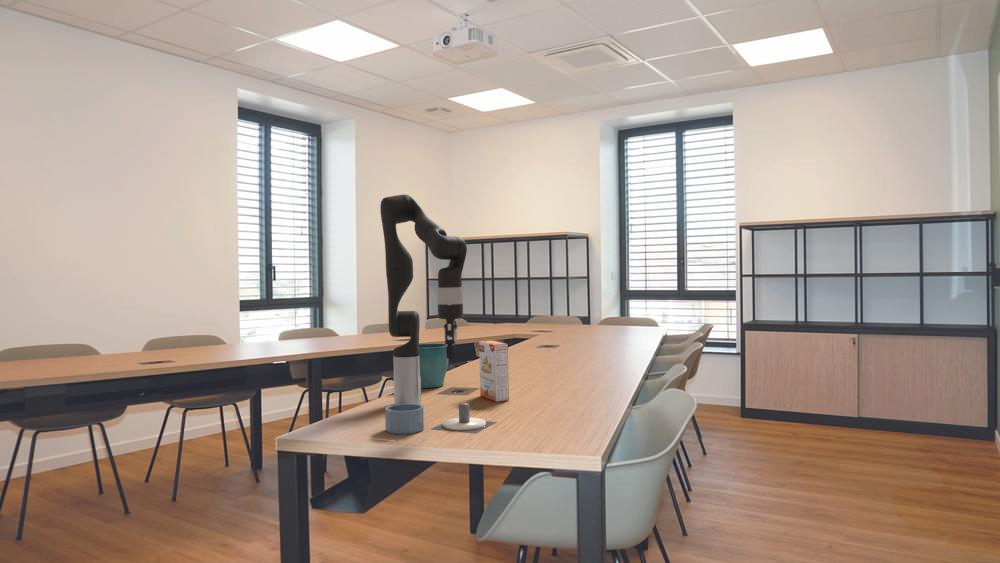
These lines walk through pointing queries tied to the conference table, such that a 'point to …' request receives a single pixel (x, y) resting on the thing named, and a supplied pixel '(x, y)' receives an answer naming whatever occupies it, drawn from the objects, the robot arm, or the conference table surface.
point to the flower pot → (432, 364)
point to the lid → (464, 420)
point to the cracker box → (494, 370)
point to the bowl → (404, 418)
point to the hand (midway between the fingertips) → (451, 356)
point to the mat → (488, 423)
